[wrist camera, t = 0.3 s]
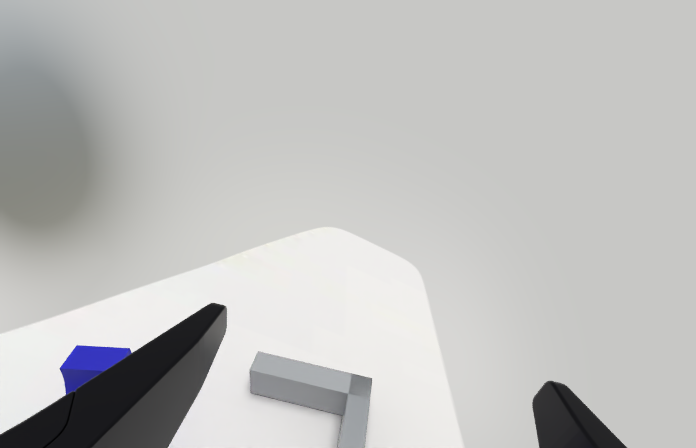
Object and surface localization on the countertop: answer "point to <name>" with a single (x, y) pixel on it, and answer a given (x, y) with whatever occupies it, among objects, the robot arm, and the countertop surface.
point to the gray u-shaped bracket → (316, 392)
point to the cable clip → (89, 364)
